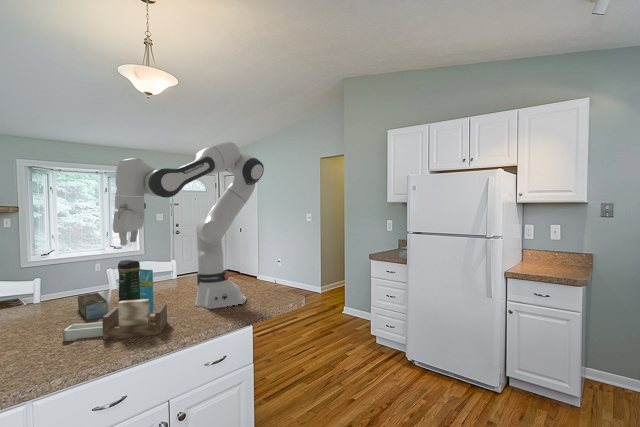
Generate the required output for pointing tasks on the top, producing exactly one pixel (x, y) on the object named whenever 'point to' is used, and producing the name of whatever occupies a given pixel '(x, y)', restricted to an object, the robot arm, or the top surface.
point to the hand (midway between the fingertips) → (128, 243)
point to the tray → (83, 331)
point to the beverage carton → (92, 305)
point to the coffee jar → (129, 280)
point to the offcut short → (152, 317)
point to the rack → (114, 331)
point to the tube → (147, 287)
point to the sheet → (134, 312)
